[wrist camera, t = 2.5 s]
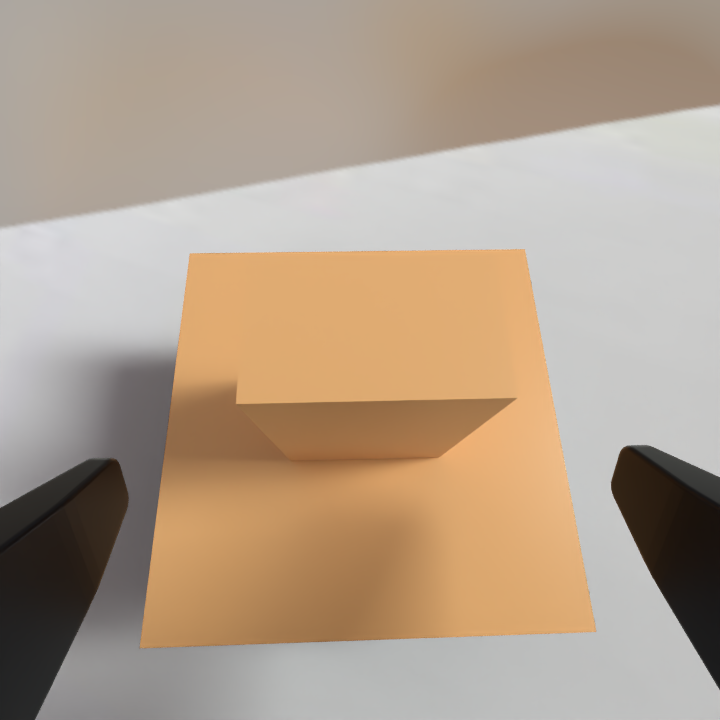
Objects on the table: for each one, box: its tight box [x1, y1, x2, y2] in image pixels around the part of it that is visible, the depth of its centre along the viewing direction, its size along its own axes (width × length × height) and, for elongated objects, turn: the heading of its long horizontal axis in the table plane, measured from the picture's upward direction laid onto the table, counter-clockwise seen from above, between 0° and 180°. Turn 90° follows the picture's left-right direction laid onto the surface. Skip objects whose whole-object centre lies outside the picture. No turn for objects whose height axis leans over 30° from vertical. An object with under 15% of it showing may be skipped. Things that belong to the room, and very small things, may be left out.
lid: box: [140, 249, 596, 648], centre depth 10 cm, size 11×11×8 cm
